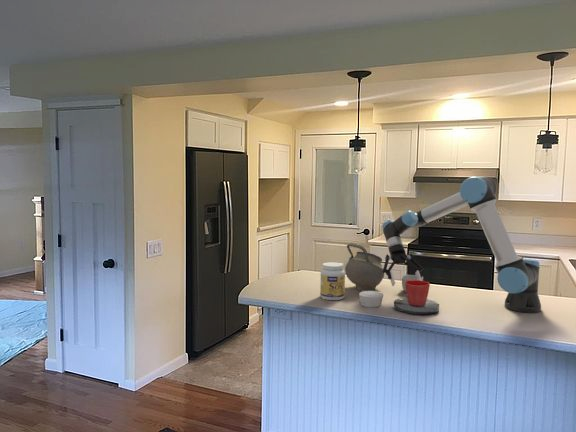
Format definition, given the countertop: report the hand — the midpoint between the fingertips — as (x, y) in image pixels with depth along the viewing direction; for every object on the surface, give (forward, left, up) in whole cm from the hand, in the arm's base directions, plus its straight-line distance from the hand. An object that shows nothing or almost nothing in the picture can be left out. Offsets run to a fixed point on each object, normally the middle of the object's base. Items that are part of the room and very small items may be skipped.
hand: (407, 284), depth 224 cm
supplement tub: (+29, +21, -9) cm, 37 cm away
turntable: (-9, +6, -9) cm, 14 cm away
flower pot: (-9, +6, -7) cm, 12 cm away
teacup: (+10, -19, -9) cm, 24 cm away
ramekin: (+9, +16, -9) cm, 21 cm away
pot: (+29, -4, -9) cm, 31 cm away
